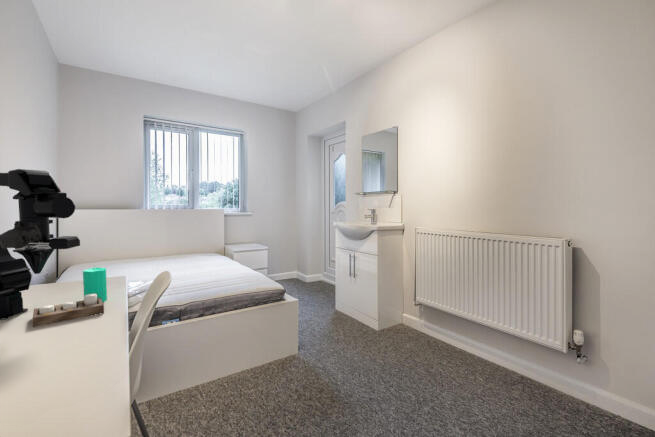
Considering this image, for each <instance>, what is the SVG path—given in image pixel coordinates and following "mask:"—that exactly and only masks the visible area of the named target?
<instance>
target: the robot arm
mask: <svg viewBox="0 0 655 437" xmlns="http://www.w3.org/2000/svg"><path fill="white" fill-rule="evenodd" d="M0 187H8V188H9V189H11V190H15V191H18V193H16V194H14V195H13V196H12V200H18V216H19V220H16V221H15V222H14V223H13V224H14V225H13V226H14V227H13V228H12V229H9V230H7V231H5V232H3V233H1V234H0V320H5V319H6V320H7V319H9V318H12V317H15V316H17V315H20V314H22V313H25V312H28V311H29V308H24V300H23V299H24V298H23V296H22V292H23V291H27V290H29V288H30V285H31V282H32V276H33V275H32V273H33V274H34V275H35V274H37V275H39V274H41V273H42V271H43V269H44V267H45V265H46V264H47V261H48V260H49V258H50V257H51V255H52V254H53V252H54V251H55V250H68V249H72V248H75V247H79V246H81V240H80V238H79V237H78V236H77V235H73V236H72V235H63V236H57V237H54V234H53V233H51V232H50V231H51V229H50V224H54V220H53V219H67V218H69V217H72V216H73V214H74V213H75V211H76V205H75V204H74V202H73V200H72V199H71V198H70V197H68V196H67V192H62V191H61V189H60V187H59V186H58V185H57V183H56V182H55V180H54V179H53V177H52V176H51V175H50V172H49V171H46V170H38V169H37V170H35V169H22V168H17V169H11V170H9V171H8V172H0ZM13 248H14V249H13ZM9 249H12V252H14V253H18V254H19V255H21V256H22V257H24V258H21V257H19V258H15V257H13V256H12V255H11V253H10V251H9ZM26 261H27V263H28V265H29V266H28V265H27V263H26ZM29 267H30V268H29ZM30 270H31V271H32V273H31V271H30Z"/></svg>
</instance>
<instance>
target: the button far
mask: <svg viewBox="0 0 655 437" xmlns="http://www.w3.org/2000/svg"><path fill="white" fill-rule="evenodd" d="M83 300H84V306H89V305H94V304H97V294H88V295H85V296H84V295H83Z"/></svg>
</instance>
